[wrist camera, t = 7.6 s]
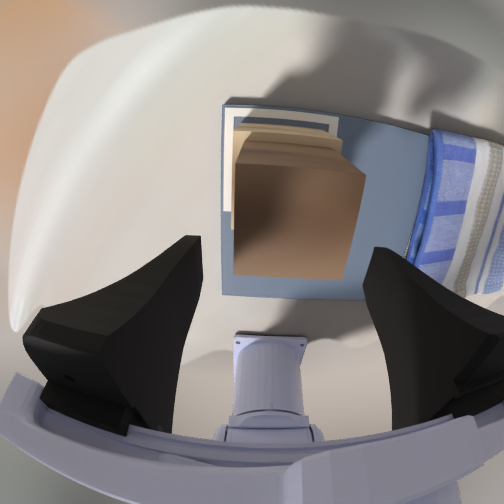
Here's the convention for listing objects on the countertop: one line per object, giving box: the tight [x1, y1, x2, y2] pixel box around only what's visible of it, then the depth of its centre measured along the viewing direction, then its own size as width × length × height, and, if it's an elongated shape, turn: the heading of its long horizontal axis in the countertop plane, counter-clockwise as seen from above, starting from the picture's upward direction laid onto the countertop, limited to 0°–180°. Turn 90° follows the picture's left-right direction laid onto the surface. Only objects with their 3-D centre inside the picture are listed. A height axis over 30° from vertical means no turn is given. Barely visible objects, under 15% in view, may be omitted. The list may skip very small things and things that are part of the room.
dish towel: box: [406, 129, 504, 298], centre depth 18 cm, size 17×24×3 cm
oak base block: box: [231, 123, 343, 230], centre depth 16 cm, size 6×6×5 cm
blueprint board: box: [221, 105, 430, 300], centre depth 20 cm, size 16×16×1 cm
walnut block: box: [233, 141, 366, 280], centre depth 12 cm, size 4×4×5 cm
